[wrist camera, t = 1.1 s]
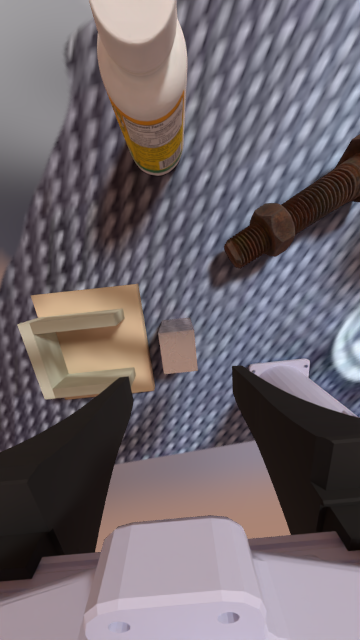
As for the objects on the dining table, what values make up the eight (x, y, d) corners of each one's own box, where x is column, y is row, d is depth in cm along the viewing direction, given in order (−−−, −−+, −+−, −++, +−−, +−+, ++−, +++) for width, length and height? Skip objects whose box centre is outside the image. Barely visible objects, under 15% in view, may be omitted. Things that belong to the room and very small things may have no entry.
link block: (193, 350, 22) (197, 370, 18) (166, 352, 22) (164, 374, 18) (190, 317, 21) (194, 329, 16) (162, 320, 21) (158, 333, 16)
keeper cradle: (154, 385, 24) (150, 407, 20) (69, 394, 24) (49, 417, 20) (138, 283, 20) (128, 286, 16) (37, 294, 20) (4, 299, 16)
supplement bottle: (177, 183, 18) (178, 80, 8) (125, 170, 17) (65, 46, 8) (188, 118, 16) (204, -91, 7) (132, 103, 16) (69, -141, 7)
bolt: (219, 253, 21) (338, 176, 19) (242, 285, 20) (373, 206, 17) (215, 220, 16) (383, 104, 13) (247, 261, 14) (440, 140, 12)
